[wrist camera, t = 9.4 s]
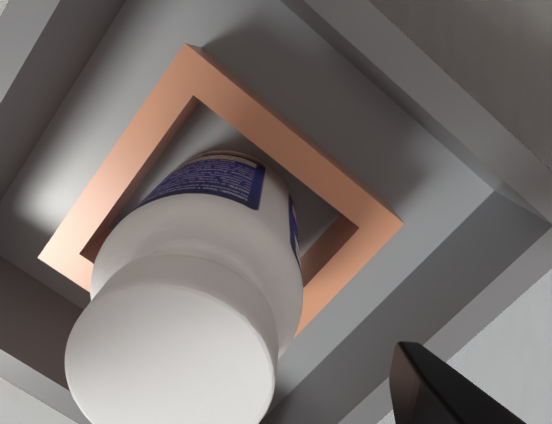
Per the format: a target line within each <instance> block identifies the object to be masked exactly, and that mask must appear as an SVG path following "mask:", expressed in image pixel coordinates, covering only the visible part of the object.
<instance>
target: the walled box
mask: <svg viewBox="0 0 552 424" xmlns="http://www.w3.org/2000/svg"><path fill="white" fill-rule="evenodd" d="M218 150H228V151H236V152H241V153H245V154H247V155H250V156H253V157H255V158H257V159H259V160H261V161H263V162H264V163H266V164H267V165H268V166H270V167H271V168H272V169H273V170H274V171H275V172H276V173H277V174H278V175H279V176H280V177H281V178H282V180H283V181H284V183H285V184H286V186H287V188H288V190H289V191H290V194H291V196H292V198H293V201H294V205H295V209H296V215H297V225H298V239H299V251H300V261H301V270H302V281H303V306H302V314H301V318H300V322H299V325H298V328H297V331H296V333H295V336H294V338H293V340H292V342H291V343H290V345H289V346H288V348H287V349H286V351H285V352H284V353H283V354H282V356H281V357H280V358H279V359H278V362H277V378H276V385H275V391H274V395H273V398H272V401H271V403H270V406H269V408H268V410H267V412H266V414H265V415H264V417H263V418H262V420H261V421H260V422H259V424H376V423H378V422H379V421H380V420H381V419H382V418H383V417H384V416H386V415H387V414H388V413H389V412H390V411H391V410H392V409H393V405H392V399H391V394H390V388H389V375H390V369H391V364H392V358H393V353H394V347H395V345H396V343H397V342H398V341H412V342H418V343H420V344H421V345H423V346H424V347H425V348H427V349H428V350H429V351H431V352H432V353H433V354H435V355H436V356H437V357H439V358H440V359H441V360H443V361H444V362H446V361H448V360H449V359H450V358H451V357H452V356H453V355H454V354H455V353H457V352H458V351H459V350H460V349H461V348H462V347H463V346H464V345H466V344H467V343H468V342H469V341H470V340H471V339H472V338H473V337H475V336H476V335H477V334H478V333H479V332H480V331H481V330H483V329H484V328H485V327H486V326H487V325H488V324H489V323H490V322H492V321H493V320H494V319H495V318H496V317H497V316H498V315H499V314H501V313H502V312H503V311H504V310H505V309H506V308H507V307H508V306H510V305H511V304H512V303H513V302H514V301H515V300H516V299H517V298H519V297H520V296H521V295H522V294H523V293H524V292H525V291H526V290H528V289H529V288H530V287H531V286H532V285H533V284H534V283H536V282H537V281H538V280H539V279H540V278H541V277H542V276H543V275H545V274H546V273H547V272H548V271H549V270H550V269H551V268H552V171H551V170H550V169H549V168H548V167H547V166H546V165H545V164H544V163H543V162H542V161H540V160H539V159H538V158H537V157H536V156H535V155H534V154H533V153H532V152H531V151H530V150H529V149H528V148H527V147H525V146H524V145H523V144H522V143H521V142H520V141H519V140H518V139H517V138H516V137H515V136H514V135H513V134H512V133H510V132H509V131H508V130H507V129H506V128H505V127H504V126H503V125H502V124H501V123H500V122H499V121H498V120H496V119H495V118H494V117H493V116H492V115H491V114H490V113H489V112H488V111H487V110H486V109H485V108H484V107H483V106H481V105H480V104H479V103H478V102H477V101H476V100H475V99H474V98H473V97H472V96H471V95H470V94H469V93H468V92H466V91H465V90H464V89H463V88H462V87H461V86H460V85H459V84H458V83H457V82H456V81H455V80H454V79H452V78H451V77H450V76H449V75H448V74H447V73H446V72H445V71H444V70H443V69H442V68H441V67H440V66H439V65H437V64H436V63H435V62H434V61H433V60H432V59H431V58H430V57H429V56H428V55H427V54H426V53H425V52H424V51H422V50H421V49H420V48H419V47H418V46H417V45H416V44H415V43H414V42H413V41H412V40H411V39H410V38H408V37H407V36H406V35H405V34H404V33H403V32H402V31H401V30H400V29H399V28H398V27H397V26H396V25H395V24H393V23H392V22H391V21H390V20H389V19H388V18H387V17H386V16H385V15H384V14H383V13H382V12H381V11H380V10H378V9H377V8H376V7H375V6H374V5H373V4H372V3H371V2H370V1H369V0H9V2H8V4H7V5H6V7H5V9H4V11H3V13H2V15H1V16H0V377H1V378H3V379H4V380H6V381H8V382H9V383H11V384H13V385H14V386H16V387H18V388H19V389H21V390H23V391H24V392H26V393H28V394H30V395H31V396H33V397H35V398H36V399H38V400H40V401H41V402H43V403H45V404H46V405H48V406H50V407H51V408H53V409H55V410H56V411H58V412H60V413H61V414H63V415H65V416H67V417H68V418H70V419H72V420H73V421H75V422H77V423H78V424H92V423H91V422H90V421H89V420H88V419H87V418H86V417H85V415H84V414H83V413H82V411H81V410H80V408H79V407H78V405H77V404H76V402H75V400H74V399H73V397H72V394H71V392H70V389H69V387H68V383H67V379H66V374H65V351H66V345H67V341H68V338H69V335H70V333H71V331H72V328H73V326H74V324H75V323H76V321H77V320H78V318H79V316H80V315H81V314H82V312H83V311H84V309H85V308H86V307H87V306H88V304H89V303H90V302H91V296H90V284H91V276H92V271H93V266H94V263H95V260H96V257H97V255H98V253H99V251H100V249H101V247H102V245H103V243H104V242H105V240H106V239H107V237H108V236H109V235H110V233H111V232H112V231H113V229H114V228H115V227H116V226H117V225H118V224H119V223H120V221H121V220H122V219H123V218H124V217H125V216H126V215H127V214H129V213H130V212H131V211H132V210H133V209H134V208H135V207H136V206H137V205H138V204H139V203H140V202H141V201H142V200H143V199H144V198H145V197H146V196H147V195H148V194H150V193H151V192H152V191H153V190H154V189H155V188H156V187H157V186H158V185H159V184H160V183H161V182H162V181H163V180H164V179H165V178H166V177H167V176H168V175H169V174H170V173H171V172H172V171H173V170H174V169H175V168H177V167H178V166H179V165H180V164H182V163H183V162H185V161H186V160H188V159H190V158H192V157H194V156H196V155H199V154H202V153H206V152H210V151H218Z"/></svg>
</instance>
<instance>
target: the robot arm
mask: <svg viewBox="0 0 552 424" xmlns="http://www.w3.org/2000/svg"><path fill="white" fill-rule="evenodd" d="M389 388H390V394H391V399H392V405H393V411H394V417H395V422H396V424H526V423H525V422H524V421H522V420H521V419H520V418H518V417H517V416H516V415H514V414H513V413H512V412H510V411H509V410H508V409H506V408H505V407H504V406H502V405H501V404H500V403H498V402H497V401H496V400H494V399H493V398H492V397H490V396H489V395H488V394H486V393H485V392H484V391H482V390H481V389H480V388H478V387H477V386H476V385H474V384H473V383H472V382H470V381H469V380H468V379H466V378H465V377H464V376H463V375H461V374H460V373H459V372H457V371H456V370H455V369H453V368H452V367H451V366H449V365H448V364H447V363H445V362H444V361H443V360H441V359H440V358H439V357H437V356H436V355H435V354H433V353H432V352H431V351H429V350H428V349H427V348H425V347H424V346H423V345H421V344H420V343H418V342H412V341H398V342H397V343H396V345H395V347H394V353H393V358H392V364H391V369H390V375H389Z"/></svg>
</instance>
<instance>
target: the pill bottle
mask: <svg viewBox="0 0 552 424" xmlns="http://www.w3.org/2000/svg"><path fill="white" fill-rule="evenodd" d="M90 296H91V302H90V303H89V304H88V306H87V307H86V308H85V309H84V311H83V312H82V314H81V315H80V316H79V318H78V320H77V321H76V323H75V324H74V326H73V328H72V331H71V333H70V335H69V338H68V341H67V345H66V351H65V374H66V379H67V383H68V387H69V389H70V392H71V394H72V397H73V399H74V400H75V402H76V404H77V405H78V407H79V408H80V410H81V411H82V413H83V414H84V415H85V417H86V418H87V419H88V420H89V421H90V422H91V423H92V424H259V422H260V421H261V420H262V418H263V417H264V415H265V414H266V412H267V410H268V408H269V406H270V403H271V401H272V398H273V395H274V391H275V385H276V378H277V362H278V359H279V358H280V357H281V356H282V354H283V353H284V352H285V351H286V349H287V348H288V346H289V345H290V343H291V342H292V340H293V338H294V336H295V333H296V331H297V328H298V325H299V322H300V318H301V314H302V306H303V281H302V270H301V261H300V251H299V239H298V225H297V215H296V209H295V205H294V201H293V198H292V196H291V194H290V191H289V190H288V188H287V186H286V184H285V183H284V181H283V180H282V178H281V177H280V176H279V175H278V174H277V173H276V172H275V171H274V170H273V169H272V168H271V167H270V166H268V165H267V164H266V163H264V162H263V161H261V160H259V159H257V158H255V157H253V156H250V155H247V154H245V153H241V152H236V151H228V150H218V151H210V152H206V153H202V154H199V155H196V156H194V157H192V158H190V159H188V160H186V161H185V162H183V163H182V164H180V165H179V166H178V167H177V168H175V169H174V170H173V171H172V172H171V173H170V174H169V175H168V176H167V177H166V178H165V179H164V180H163V181H162V182H161V183H160V184H159V185H158V186H157V187H156V188H155V189H154V190H153V191H152V192H151V193H150V194H148V195H147V196H146V197H145V198H144V199H143V200H142V201H141V202H140V203H139V204H138V205H137V206H136V207H135V208H134V209H133V210H132V211H131V212H130V213H129V214H127V215H126V216H125V217H124V218H123V219H122V220H121V221H120V223H119V224H118V225H117V226H116V227H115V228H114V229H113V231H112V232H111V233H110V235H109V236H108V237H107V239H106V240H105V242H104V243H103V245H102V247H101V249H100V251H99V253H98V255H97V257H96V260H95V263H94V266H93V271H92V276H91V284H90Z"/></svg>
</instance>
